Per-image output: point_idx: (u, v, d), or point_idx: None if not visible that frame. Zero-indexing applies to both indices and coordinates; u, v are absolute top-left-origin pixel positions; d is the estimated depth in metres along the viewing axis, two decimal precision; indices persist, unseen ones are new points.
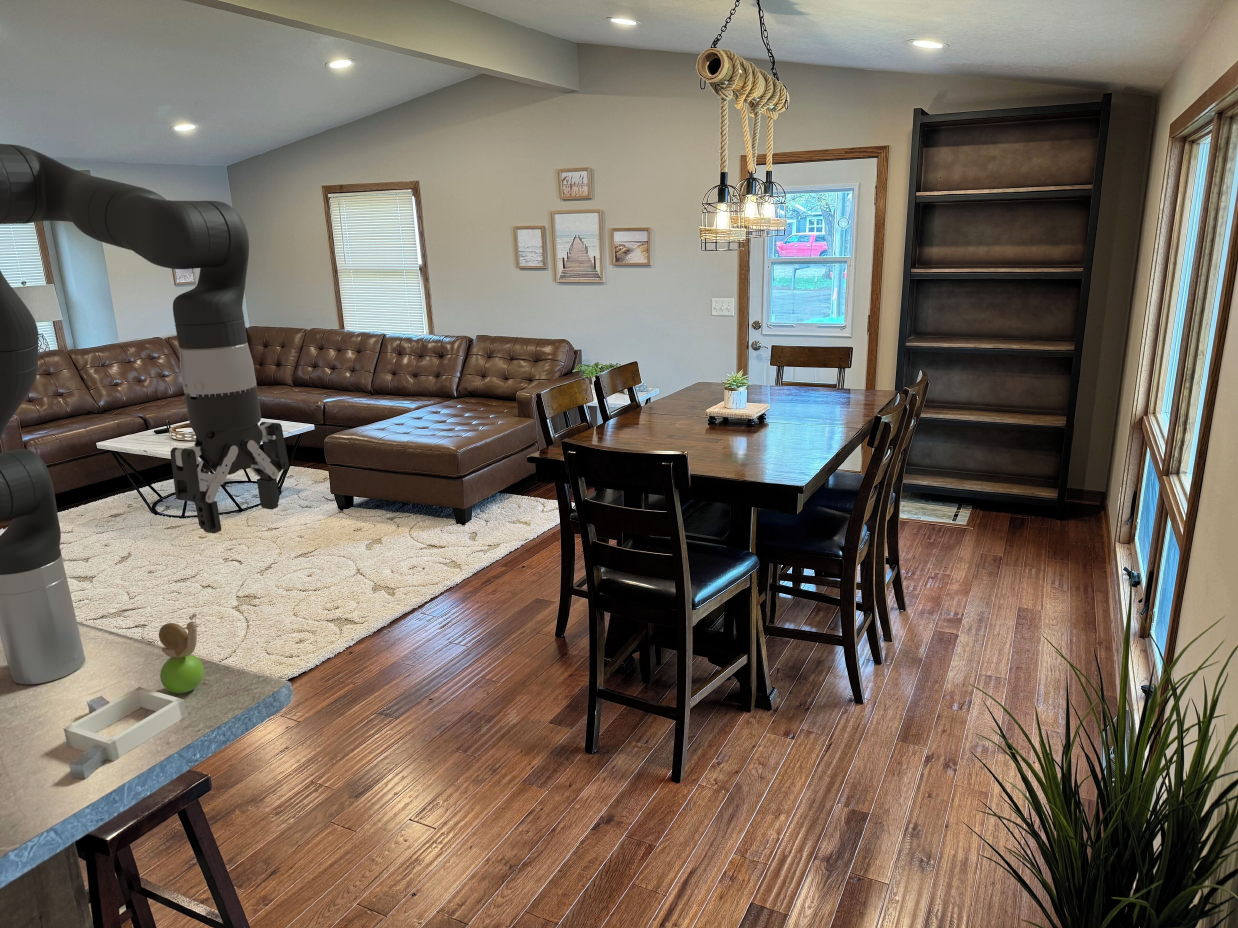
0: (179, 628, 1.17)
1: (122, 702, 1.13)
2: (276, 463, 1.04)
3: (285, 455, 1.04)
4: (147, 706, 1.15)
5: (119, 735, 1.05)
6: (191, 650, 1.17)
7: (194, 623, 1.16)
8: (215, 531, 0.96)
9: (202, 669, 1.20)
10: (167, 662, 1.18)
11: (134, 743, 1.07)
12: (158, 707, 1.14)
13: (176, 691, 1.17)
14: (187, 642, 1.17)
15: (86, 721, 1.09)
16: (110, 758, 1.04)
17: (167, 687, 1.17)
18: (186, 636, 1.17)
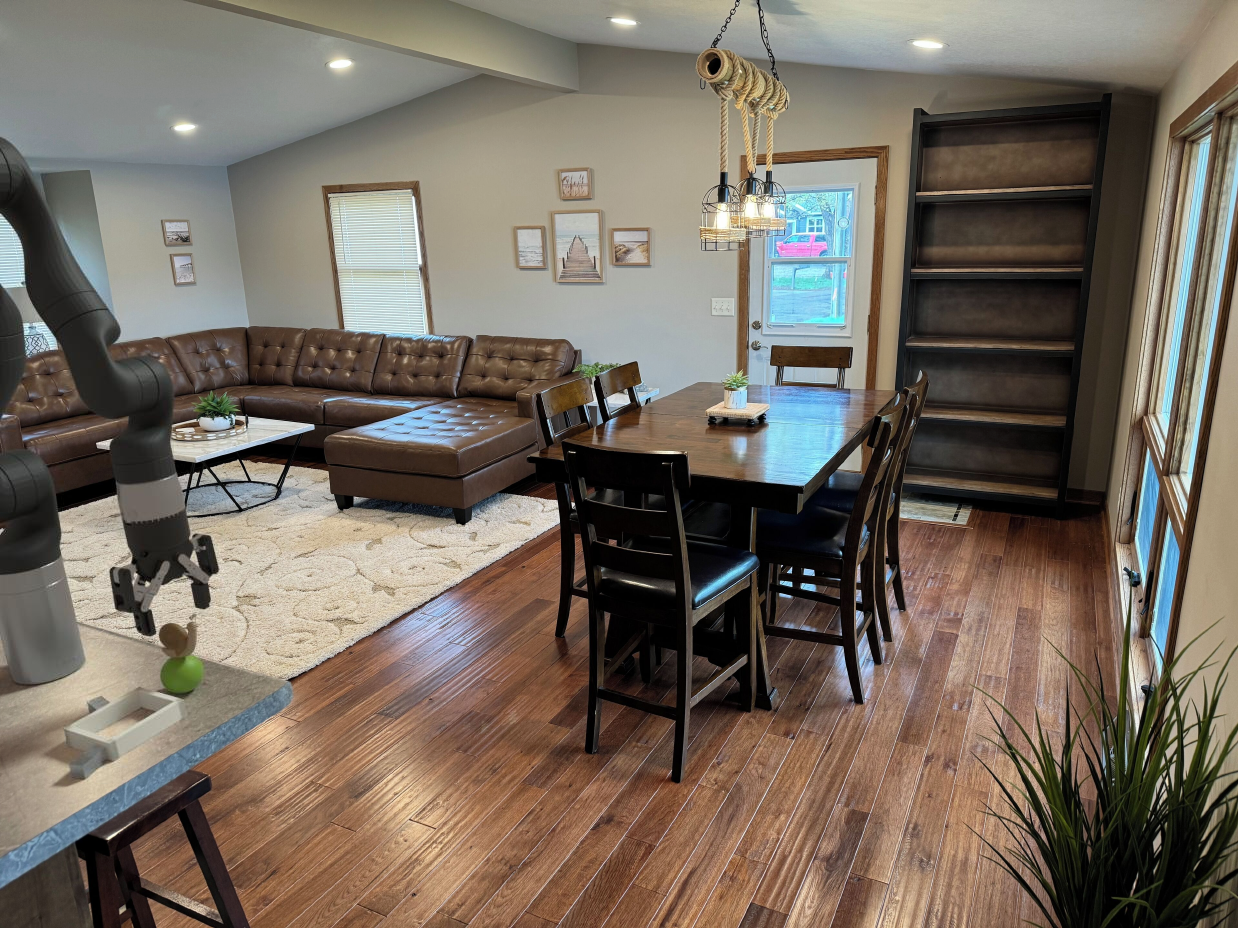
0: (179, 628, 1.17)
1: (122, 702, 1.13)
2: (207, 569, 1.20)
3: (215, 561, 1.20)
4: (147, 706, 1.15)
5: (119, 735, 1.05)
6: (191, 650, 1.17)
7: (194, 623, 1.16)
8: (151, 635, 1.12)
9: (202, 669, 1.20)
10: (167, 662, 1.18)
11: (134, 743, 1.07)
12: (158, 707, 1.14)
13: (176, 691, 1.17)
14: (187, 642, 1.17)
15: (86, 721, 1.09)
16: (110, 758, 1.04)
17: (167, 687, 1.17)
18: (186, 636, 1.17)
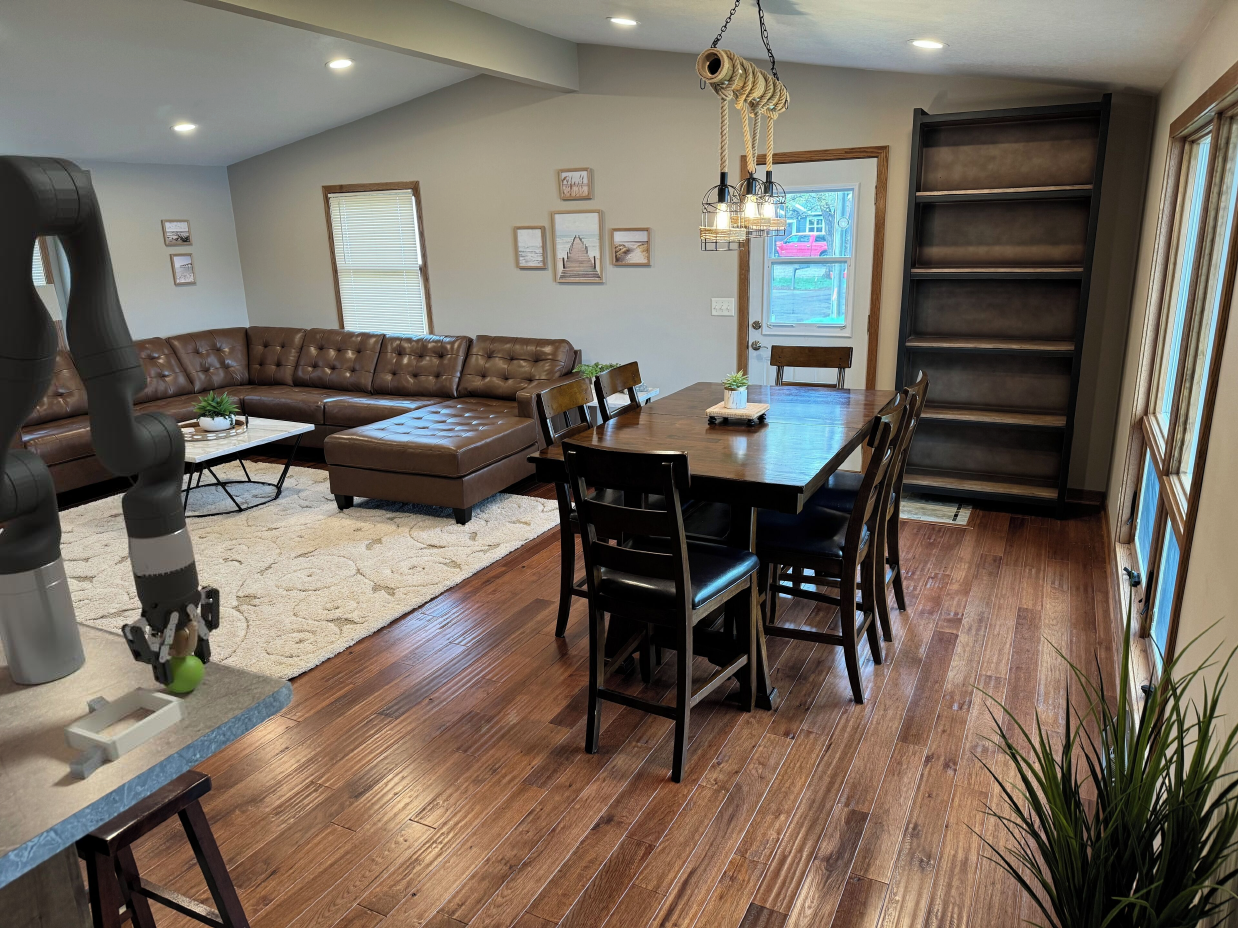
0: None
1: (122, 702, 1.13)
2: (208, 623, 1.21)
3: (217, 617, 1.22)
4: (147, 706, 1.15)
5: (119, 735, 1.05)
6: (192, 650, 1.17)
7: (195, 623, 1.16)
8: (168, 684, 1.16)
9: (202, 669, 1.20)
10: None
11: (134, 743, 1.07)
12: (158, 707, 1.14)
13: (176, 691, 1.18)
14: (187, 641, 1.17)
15: (86, 721, 1.09)
16: (110, 758, 1.04)
17: (168, 687, 1.17)
18: (187, 636, 1.17)
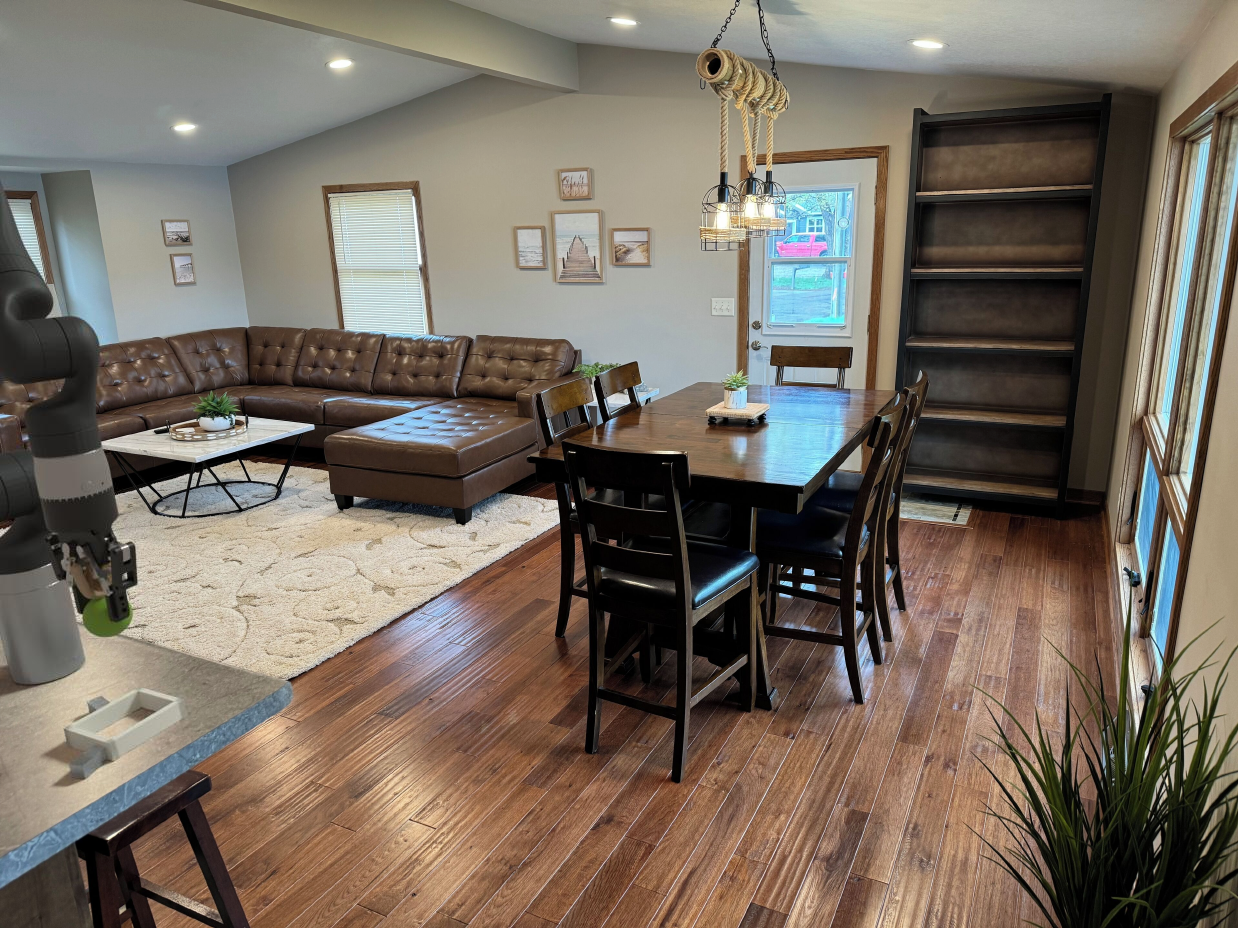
0: None
1: (122, 702, 1.13)
2: None
3: (117, 581, 1.01)
4: (147, 706, 1.15)
5: (119, 735, 1.05)
6: (83, 594, 1.03)
7: (72, 567, 1.01)
8: (79, 612, 1.07)
9: (100, 623, 1.04)
10: None
11: (134, 743, 1.07)
12: (158, 707, 1.14)
13: None
14: None
15: (86, 721, 1.09)
16: (110, 758, 1.04)
17: None
18: (85, 577, 1.03)
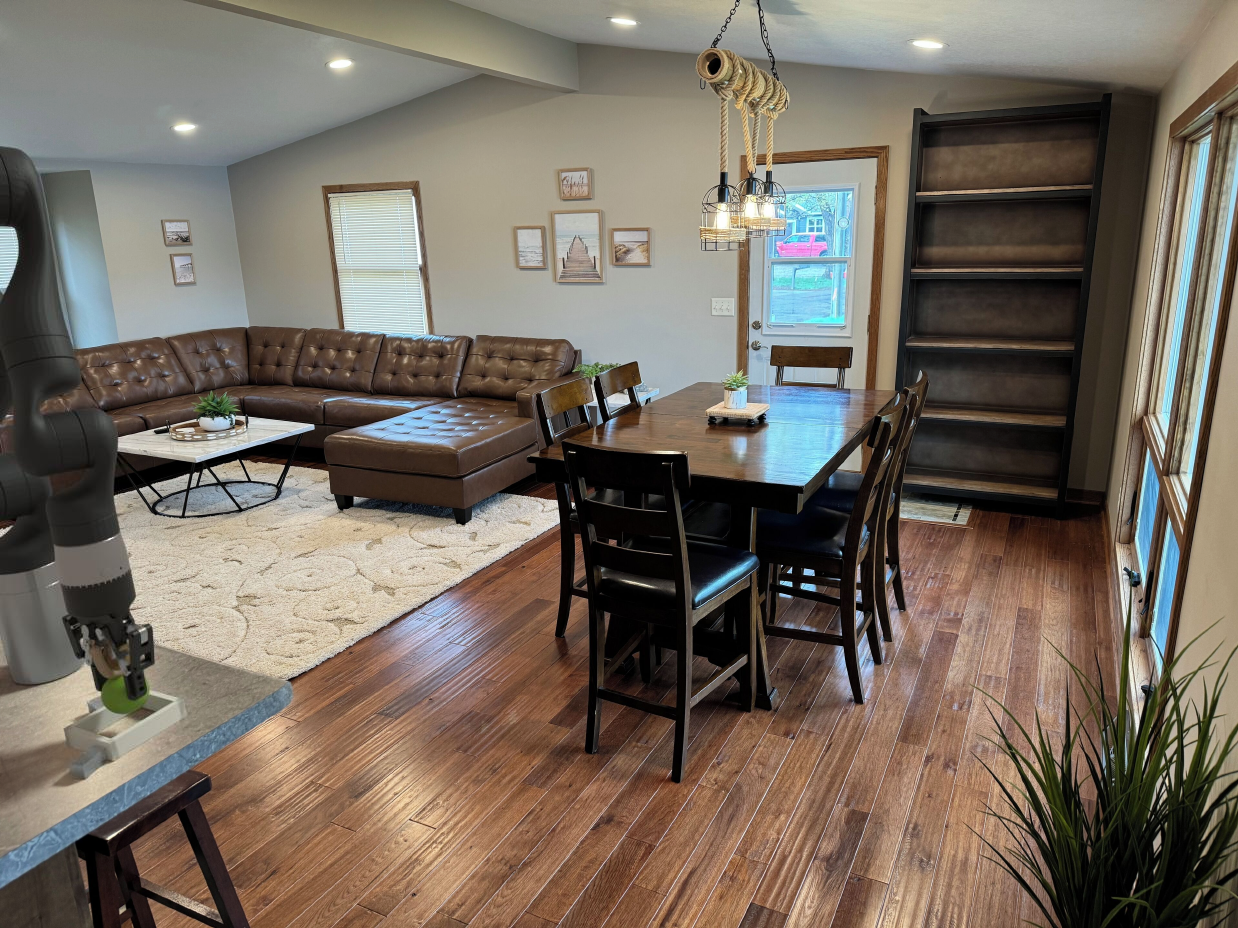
0: None
1: None
2: None
3: (135, 662, 1.04)
4: (147, 706, 1.15)
5: (119, 735, 1.05)
6: None
7: (91, 649, 1.04)
8: None
9: (118, 701, 1.07)
10: None
11: (134, 743, 1.07)
12: (158, 707, 1.14)
13: None
14: None
15: (86, 721, 1.09)
16: (110, 758, 1.04)
17: None
18: (103, 658, 1.06)
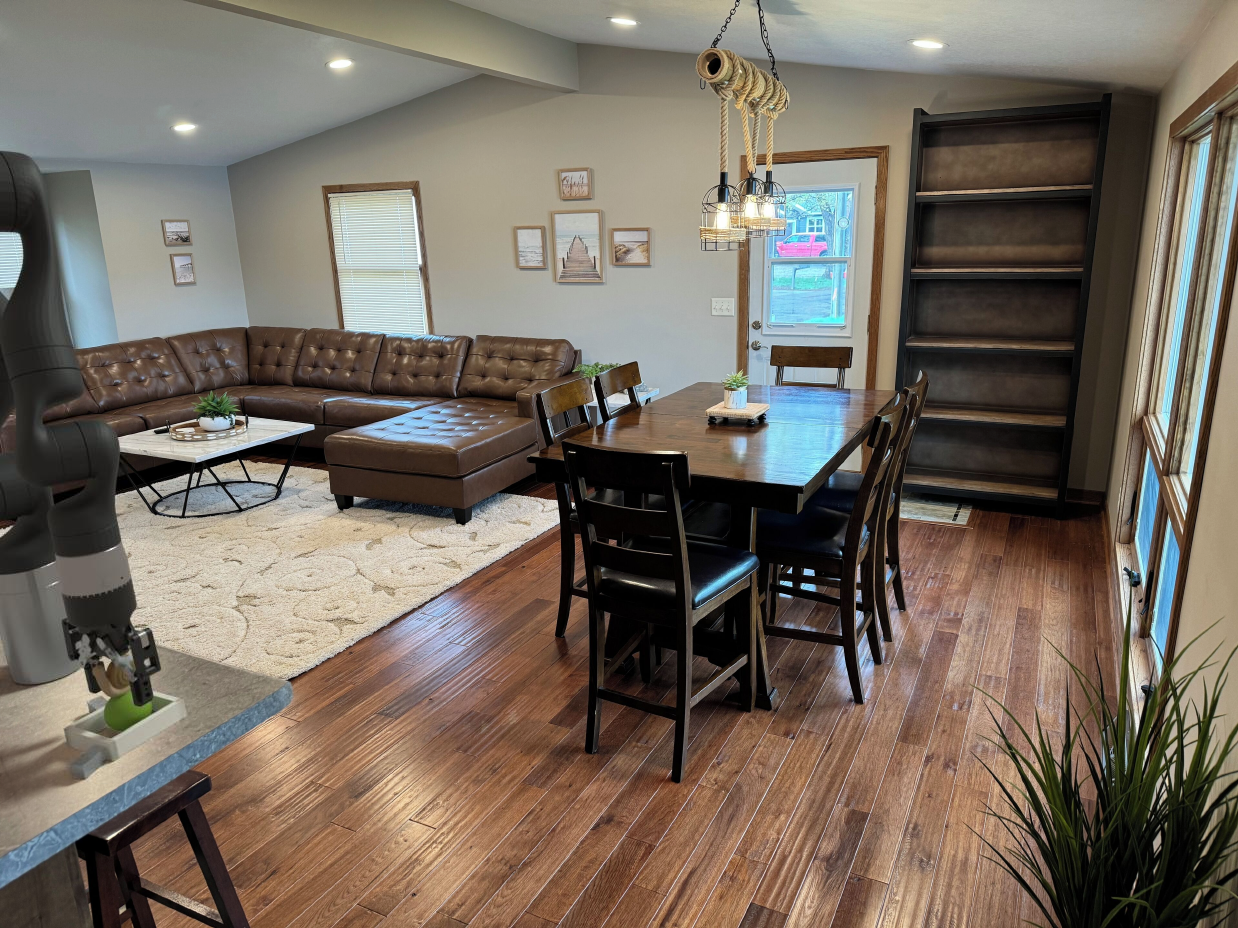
0: (108, 665, 1.07)
1: None
2: None
3: (139, 667, 1.04)
4: None
5: (119, 735, 1.05)
6: (104, 693, 1.07)
7: (95, 669, 1.05)
8: None
9: (121, 720, 1.08)
10: None
11: (134, 743, 1.07)
12: (158, 707, 1.14)
13: None
14: None
15: (86, 721, 1.09)
16: (110, 758, 1.04)
17: None
18: (106, 677, 1.07)
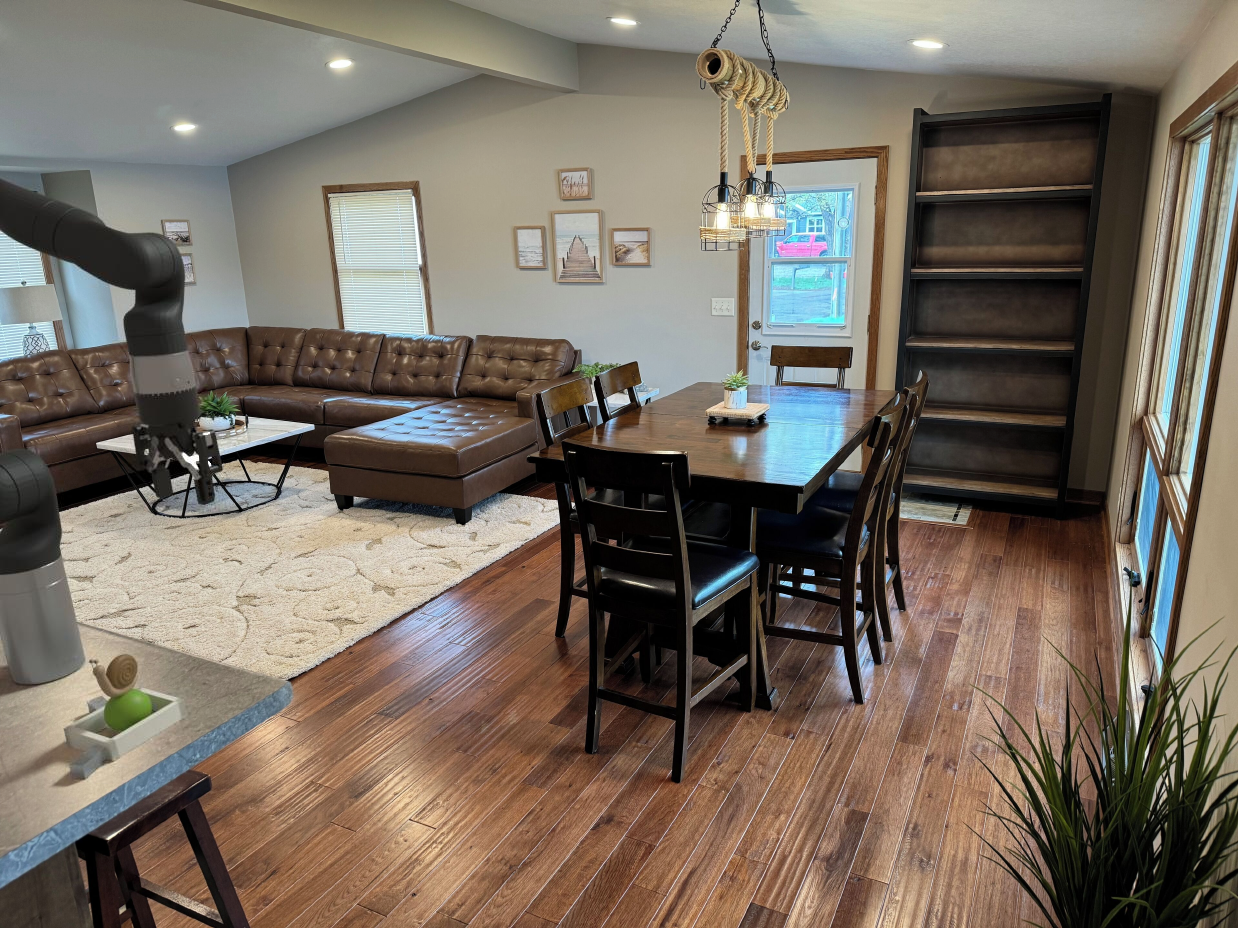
0: (109, 665, 1.07)
1: None
2: None
3: (204, 464, 1.13)
4: None
5: (119, 735, 1.05)
6: (105, 693, 1.07)
7: (95, 669, 1.05)
8: None
9: (121, 720, 1.08)
10: None
11: (134, 743, 1.07)
12: (158, 707, 1.14)
13: None
14: None
15: (86, 721, 1.09)
16: (110, 758, 1.04)
17: None
18: (107, 677, 1.07)
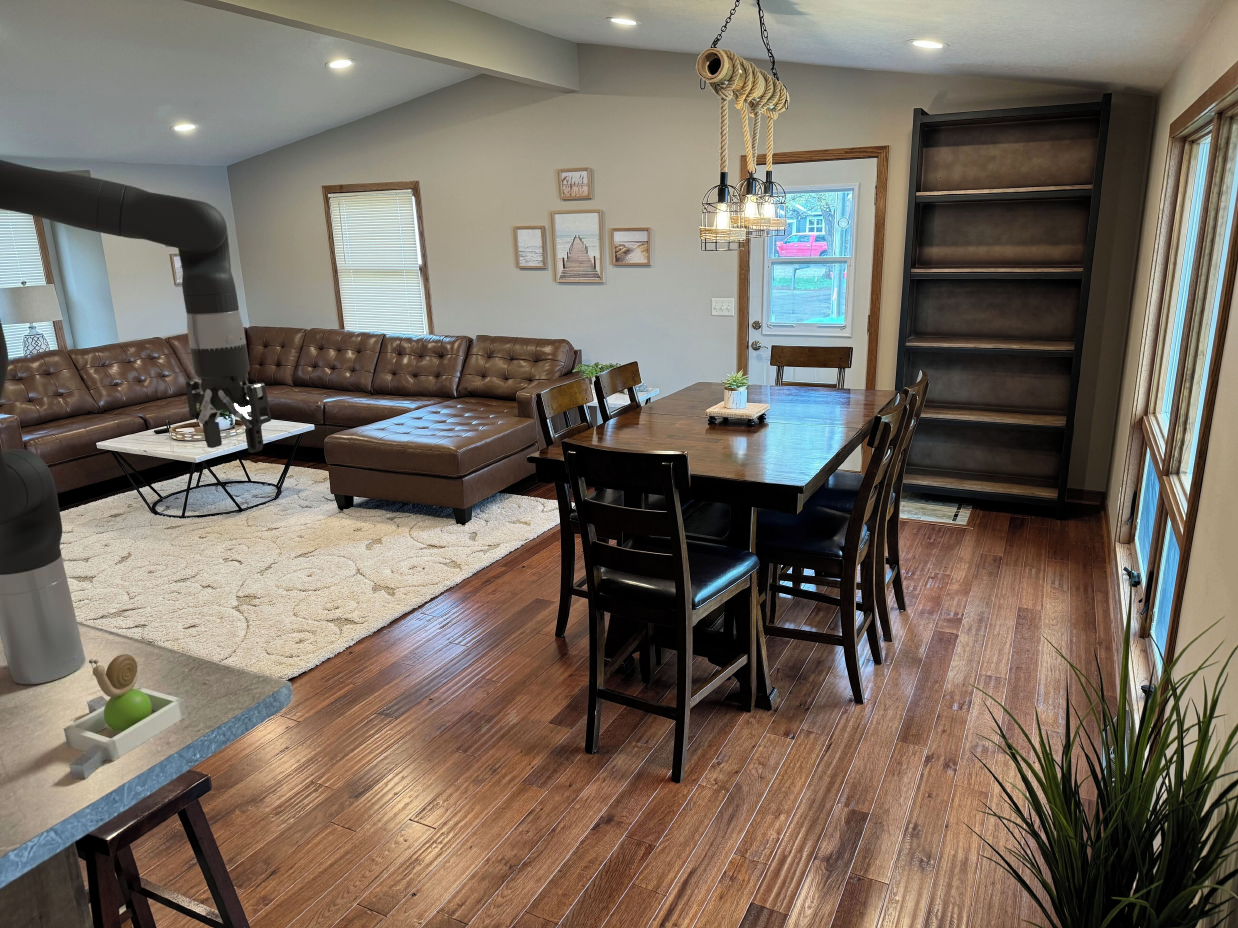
0: (109, 665, 1.07)
1: None
2: None
3: (255, 414, 1.24)
4: None
5: (119, 735, 1.05)
6: (104, 693, 1.07)
7: (95, 669, 1.05)
8: (208, 446, 1.30)
9: (121, 720, 1.08)
10: None
11: (134, 743, 1.07)
12: (158, 707, 1.14)
13: None
14: None
15: (86, 721, 1.09)
16: (110, 758, 1.04)
17: None
18: (107, 677, 1.07)
